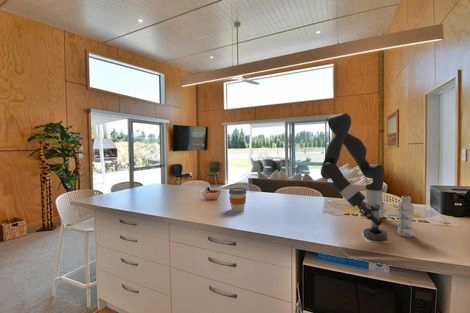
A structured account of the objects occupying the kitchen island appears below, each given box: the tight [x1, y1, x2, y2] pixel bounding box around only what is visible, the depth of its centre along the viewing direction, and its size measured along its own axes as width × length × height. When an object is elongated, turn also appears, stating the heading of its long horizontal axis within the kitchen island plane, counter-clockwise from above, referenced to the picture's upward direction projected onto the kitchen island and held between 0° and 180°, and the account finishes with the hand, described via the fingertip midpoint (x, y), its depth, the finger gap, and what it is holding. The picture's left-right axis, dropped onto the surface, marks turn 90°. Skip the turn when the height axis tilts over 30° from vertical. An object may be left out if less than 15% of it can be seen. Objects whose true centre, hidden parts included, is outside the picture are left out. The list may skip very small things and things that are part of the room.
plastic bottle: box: [396, 195, 415, 238], centre depth 119 cm, size 6×7×20 cm
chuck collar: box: [363, 227, 388, 241], centre depth 116 cm, size 9×9×3 cm
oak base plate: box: [356, 232, 396, 244], centre depth 116 cm, size 12×12×1 cm
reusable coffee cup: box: [228, 187, 247, 212], centre depth 175 cm, size 13×13×15 cm
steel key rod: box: [370, 204, 380, 233], centre depth 116 cm, size 4×4×15 cm
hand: (380, 223), depth 115 cm, fingers closed on steel key rod, 3 cm apart
